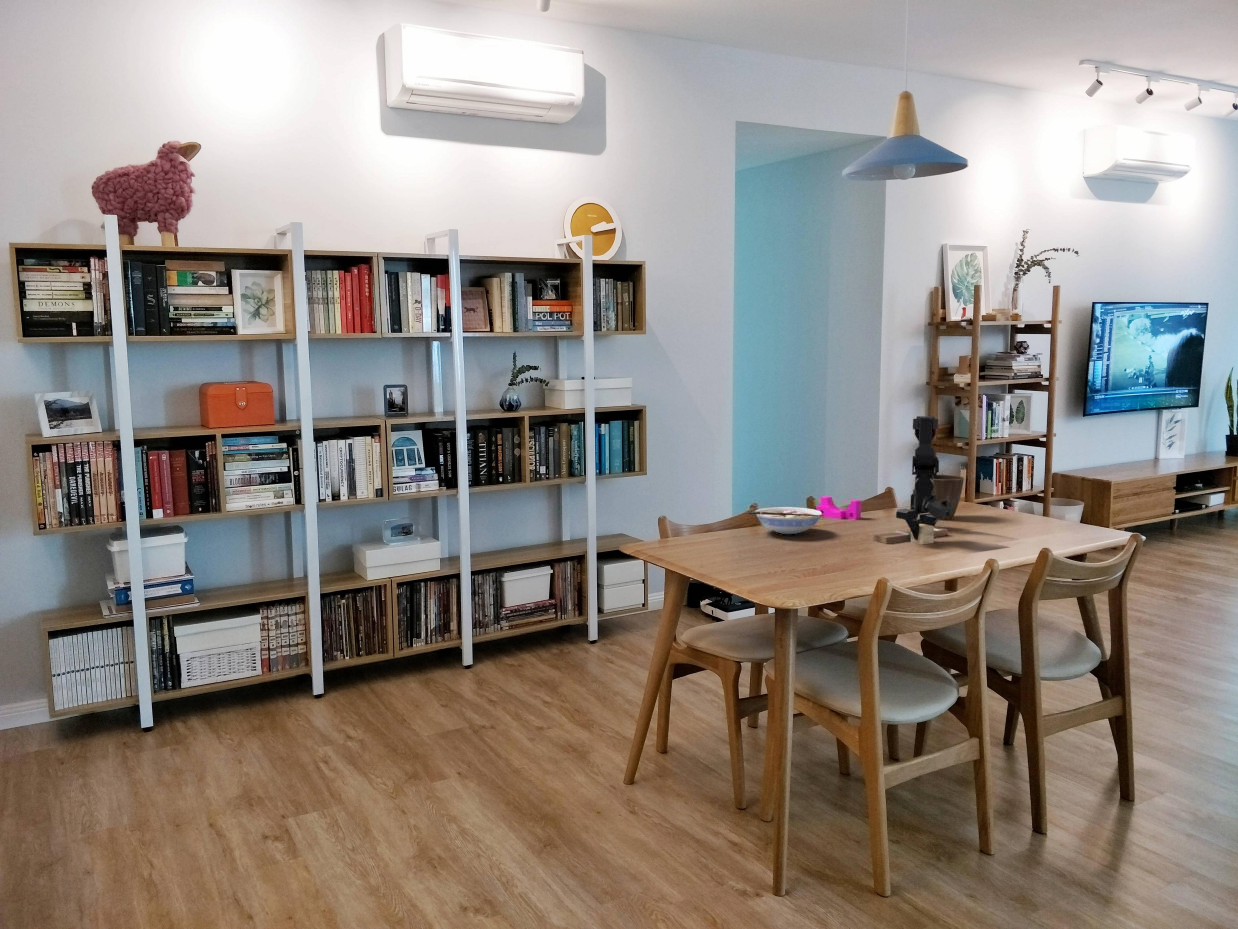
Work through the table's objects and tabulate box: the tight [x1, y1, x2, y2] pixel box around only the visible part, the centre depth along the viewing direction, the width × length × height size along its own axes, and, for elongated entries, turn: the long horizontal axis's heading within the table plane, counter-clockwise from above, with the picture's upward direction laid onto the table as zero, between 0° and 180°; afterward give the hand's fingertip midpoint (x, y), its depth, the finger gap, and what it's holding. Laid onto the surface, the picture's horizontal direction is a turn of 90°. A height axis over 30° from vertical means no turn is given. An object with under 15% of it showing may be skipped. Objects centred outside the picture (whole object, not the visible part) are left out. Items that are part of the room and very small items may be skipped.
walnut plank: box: [872, 526, 949, 545], centre depth 324 cm, size 6×28×2 cm, turn 119°
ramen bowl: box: [748, 506, 824, 535], centre depth 334 cm, size 25×23×8 cm
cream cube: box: [907, 524, 935, 545], centre depth 317 cm, size 6×5×6 cm
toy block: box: [816, 496, 862, 520], centre depth 362 cm, size 15×6×8 cm, turn 46°
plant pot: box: [932, 474, 965, 521], centre depth 357 cm, size 15×15×16 cm
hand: (922, 538), depth 317 cm, fingers closed on cream cube, 5 cm apart
